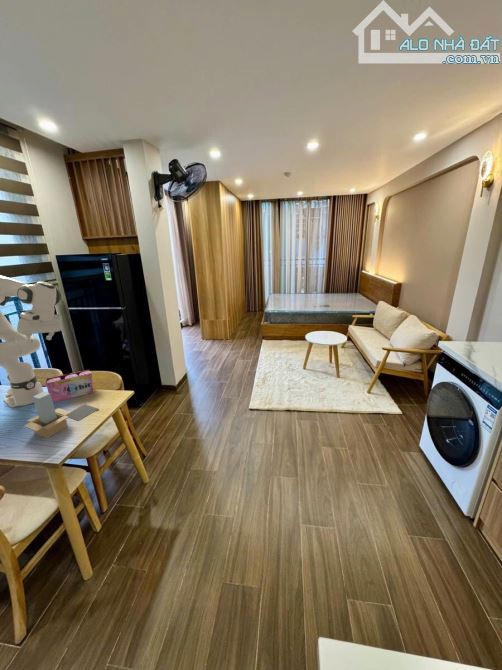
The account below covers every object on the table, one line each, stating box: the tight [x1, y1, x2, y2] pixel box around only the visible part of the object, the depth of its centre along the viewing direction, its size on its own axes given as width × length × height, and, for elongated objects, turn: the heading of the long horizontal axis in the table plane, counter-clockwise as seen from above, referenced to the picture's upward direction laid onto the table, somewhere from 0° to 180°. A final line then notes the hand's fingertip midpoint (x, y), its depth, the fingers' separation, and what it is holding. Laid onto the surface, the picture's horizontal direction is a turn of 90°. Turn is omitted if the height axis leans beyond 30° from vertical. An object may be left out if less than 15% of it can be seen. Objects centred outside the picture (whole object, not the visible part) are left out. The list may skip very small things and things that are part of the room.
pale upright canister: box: [33, 391, 57, 427], centre depth 128 cm, size 5×5×20 cm
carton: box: [23, 407, 71, 439], centre depth 130 cm, size 16×16×7 cm
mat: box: [66, 403, 100, 422], centre depth 145 cm, size 12×12×1 cm
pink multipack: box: [45, 369, 95, 404], centre depth 162 cm, size 24×8×14 cm, turn 125°
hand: (39, 340), depth 131 cm, fingers open, 8 cm apart
